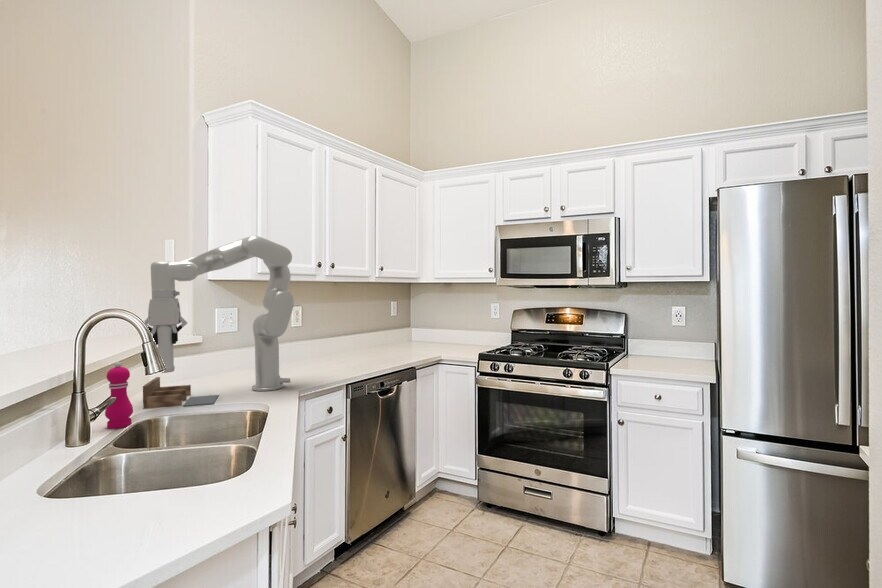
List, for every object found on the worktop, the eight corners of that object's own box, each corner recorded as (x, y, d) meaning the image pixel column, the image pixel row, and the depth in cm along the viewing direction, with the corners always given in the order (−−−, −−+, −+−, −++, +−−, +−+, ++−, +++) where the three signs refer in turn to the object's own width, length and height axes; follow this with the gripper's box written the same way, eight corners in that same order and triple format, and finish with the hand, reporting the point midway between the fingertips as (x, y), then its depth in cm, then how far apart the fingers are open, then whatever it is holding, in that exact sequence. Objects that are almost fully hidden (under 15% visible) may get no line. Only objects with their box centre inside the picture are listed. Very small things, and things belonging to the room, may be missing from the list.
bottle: (167, 373, 171) (164, 304, 170) (155, 373, 172) (152, 304, 171) (178, 370, 176) (175, 304, 175) (165, 370, 177) (163, 304, 176)
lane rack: (190, 394, 188) (190, 374, 188) (181, 405, 171) (180, 383, 171) (156, 397, 185) (156, 377, 184) (143, 408, 167) (142, 386, 167)
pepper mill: (119, 429, 142) (117, 364, 141) (99, 428, 143) (97, 363, 143) (139, 423, 149) (137, 360, 149) (119, 422, 150) (118, 360, 150)
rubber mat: (218, 396, 185) (218, 394, 185) (213, 404, 172) (213, 402, 172) (190, 398, 182) (190, 396, 182) (182, 406, 169) (182, 405, 169)
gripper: (191, 294, 179) (193, 341, 180) (140, 295, 174) (142, 344, 174) (187, 294, 172) (189, 343, 173) (133, 296, 167) (136, 346, 167)
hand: (165, 343), depth 173 cm, fingers closed on bottle, 5 cm apart
